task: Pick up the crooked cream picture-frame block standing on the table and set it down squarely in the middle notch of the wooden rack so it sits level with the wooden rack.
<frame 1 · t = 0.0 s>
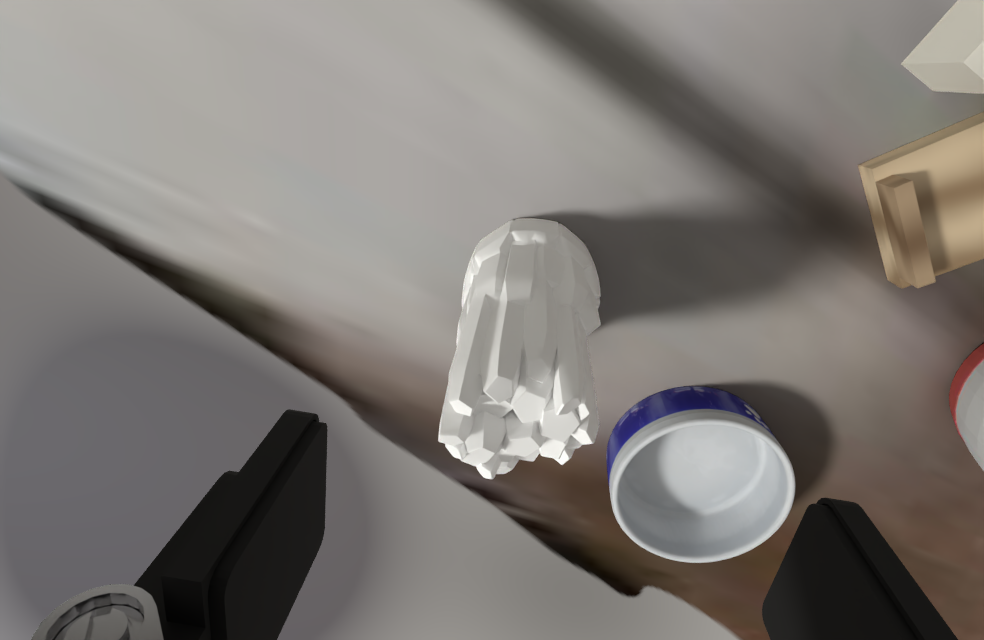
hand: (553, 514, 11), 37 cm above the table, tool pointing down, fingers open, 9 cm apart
dog bowl: (685, 452, 55), on the table
frame block: (959, 31, 39), on the table
white crystal cluster: (530, 279, 49), on the table
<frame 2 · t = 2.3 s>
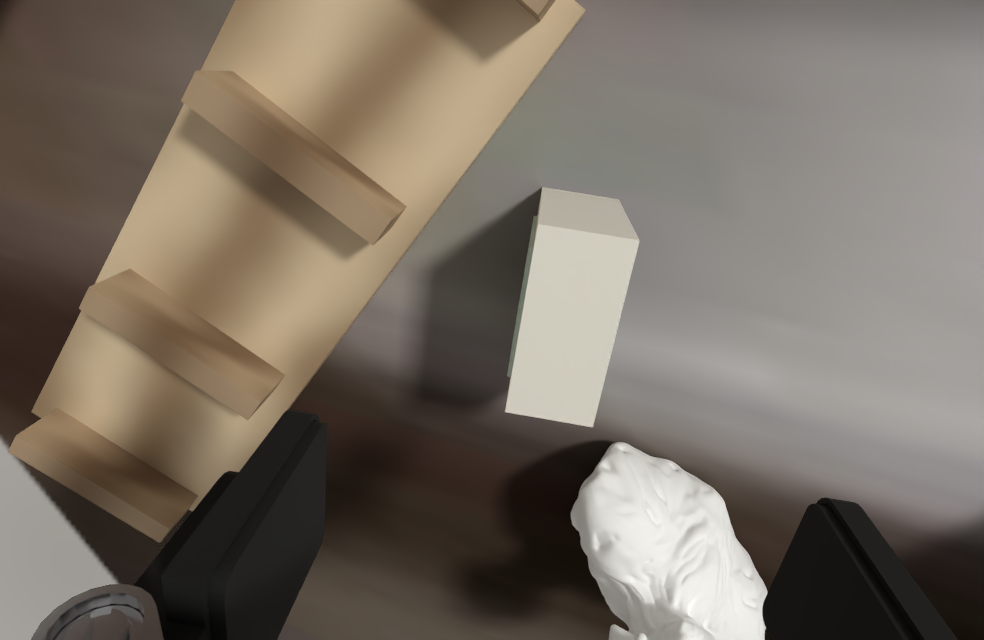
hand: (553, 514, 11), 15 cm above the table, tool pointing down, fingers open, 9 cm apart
frame block: (564, 272, 25), on the table
wooden rack: (276, 237, 26), on the table
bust: (651, 509, 30), on the table
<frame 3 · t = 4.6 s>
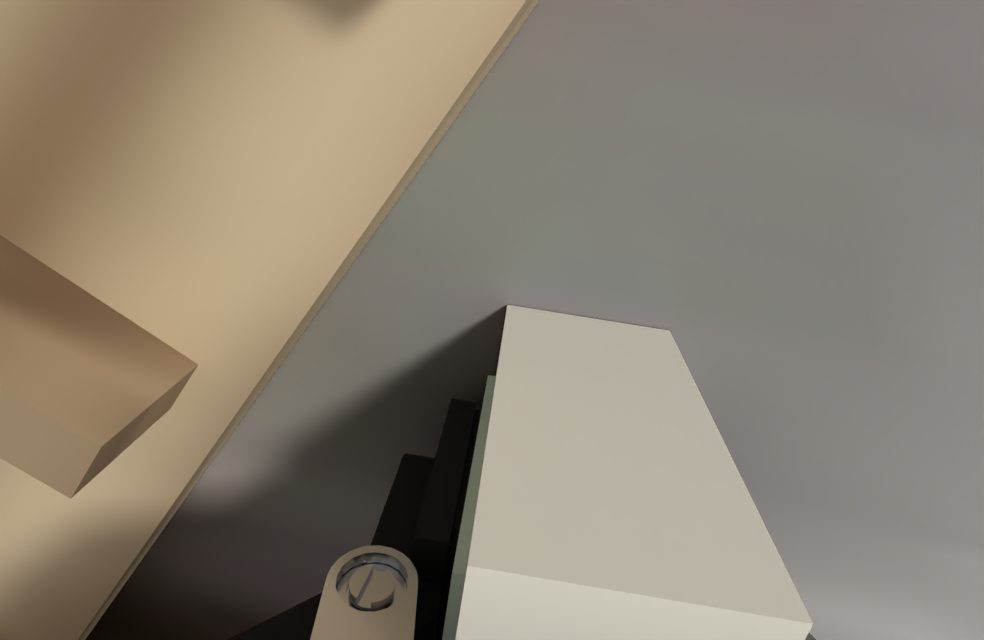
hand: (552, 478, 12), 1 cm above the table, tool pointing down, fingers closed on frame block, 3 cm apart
frame block: (555, 462, 13), on the table, touching gripper
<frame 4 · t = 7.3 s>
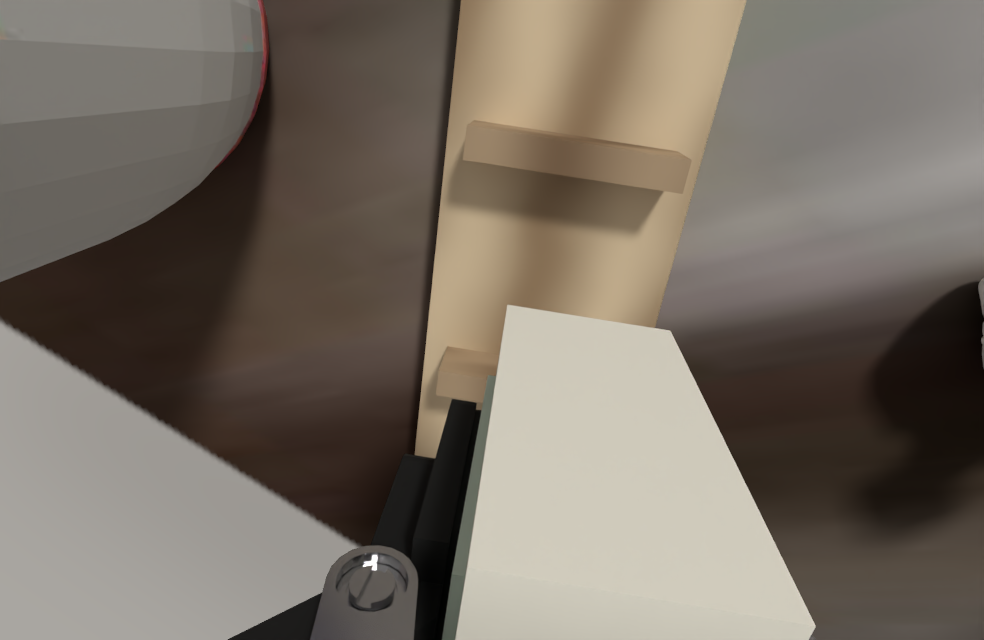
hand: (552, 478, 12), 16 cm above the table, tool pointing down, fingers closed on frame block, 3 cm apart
frame block: (555, 462, 13), point 15 cm above the table, touching gripper
wooden rack: (549, 256, 27), on the table
citrus juicer: (131, 0, 24), on the table
when the fingers open (4 cm above the table, at t = 10.0 s): frame block stays where it is, resting on wooden rack.
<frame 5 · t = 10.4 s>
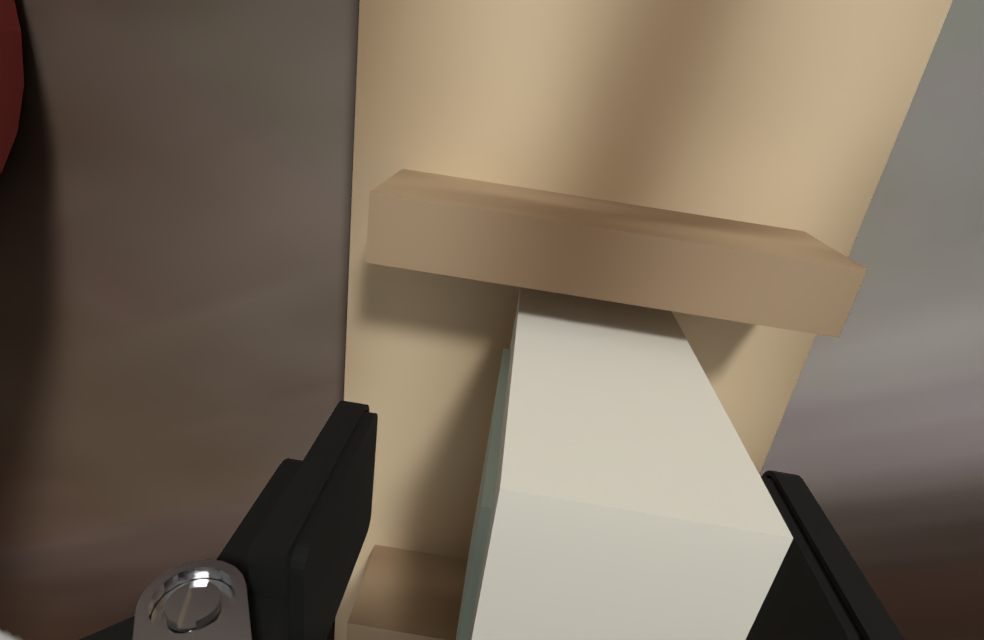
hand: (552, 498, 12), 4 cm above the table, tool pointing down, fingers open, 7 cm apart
frame block: (563, 433, 14), point 2 cm above the table, touching wooden rack
wooden rack: (550, 390, 15), on the table
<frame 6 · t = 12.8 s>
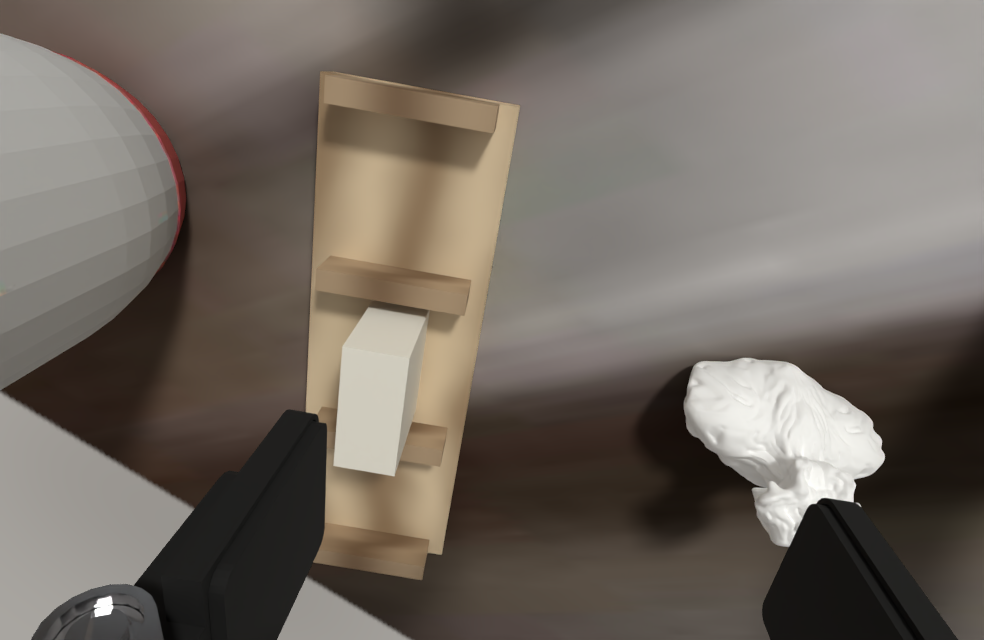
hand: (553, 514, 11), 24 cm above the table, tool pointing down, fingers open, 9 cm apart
frame block: (396, 355, 34), point 2 cm above the table, touching wooden rack
wooden rack: (398, 341, 36), on the table
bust: (752, 400, 37), on the table
citrus juicer: (85, 159, 33), on the table
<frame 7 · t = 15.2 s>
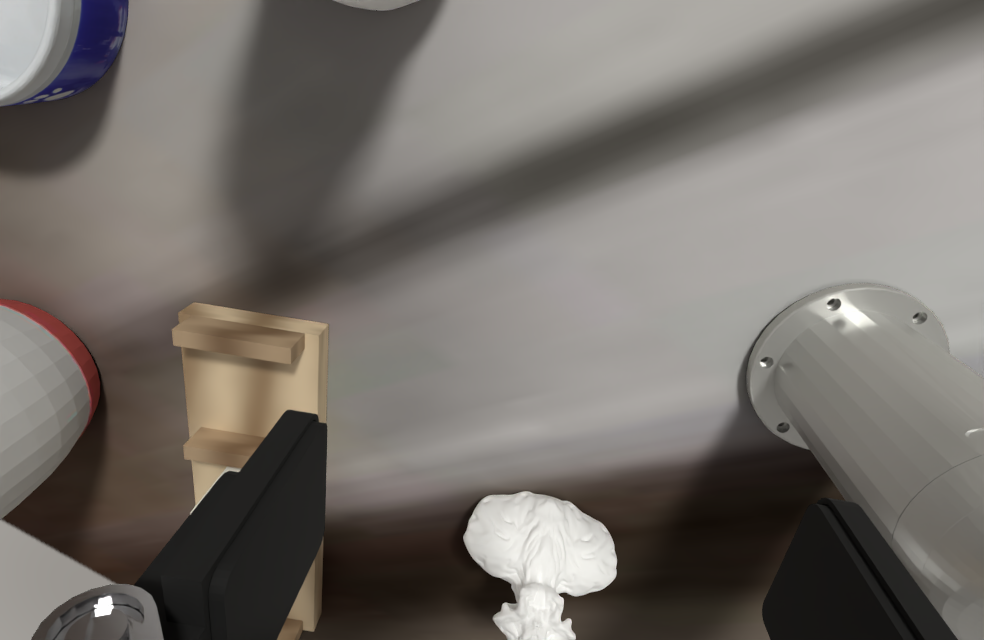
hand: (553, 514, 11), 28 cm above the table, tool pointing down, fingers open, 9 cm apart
wooden rack: (265, 476, 48), on the table
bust: (538, 520, 48), on the table
citrus juicer: (28, 354, 45), on the table
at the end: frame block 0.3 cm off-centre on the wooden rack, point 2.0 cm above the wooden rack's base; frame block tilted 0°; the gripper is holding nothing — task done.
